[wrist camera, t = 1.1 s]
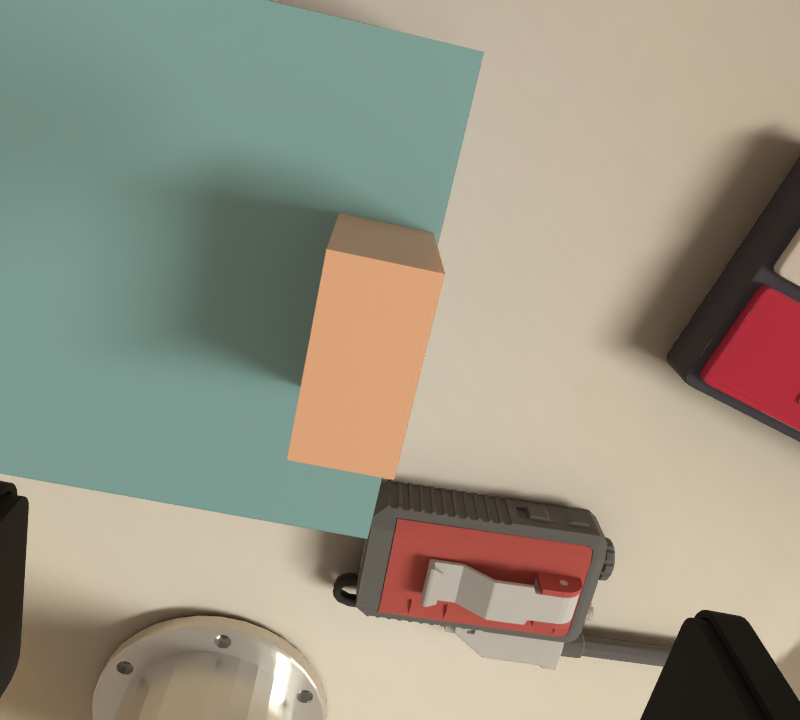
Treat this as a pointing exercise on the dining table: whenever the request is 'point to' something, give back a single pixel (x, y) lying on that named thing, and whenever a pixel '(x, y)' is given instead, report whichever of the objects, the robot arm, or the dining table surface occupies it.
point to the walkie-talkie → (489, 574)
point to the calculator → (753, 322)
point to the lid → (220, 249)
